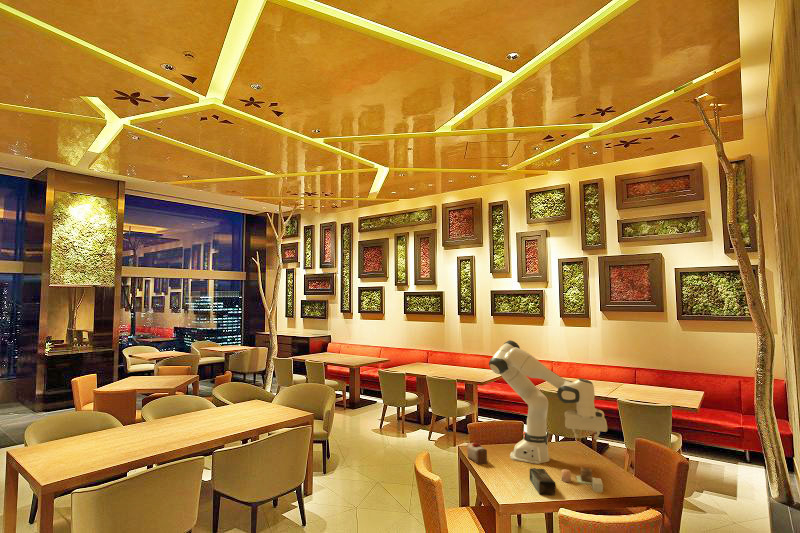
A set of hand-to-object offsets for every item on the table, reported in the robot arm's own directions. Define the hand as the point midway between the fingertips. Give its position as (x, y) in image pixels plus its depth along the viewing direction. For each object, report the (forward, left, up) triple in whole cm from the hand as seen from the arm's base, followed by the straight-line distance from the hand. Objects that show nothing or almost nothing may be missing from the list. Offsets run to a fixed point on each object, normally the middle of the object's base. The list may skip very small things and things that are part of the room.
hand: (586, 438), depth 233 cm
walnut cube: (0, 0, -20) cm, 20 cm away
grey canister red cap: (-57, +13, -21) cm, 63 cm away
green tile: (0, 0, -21) cm, 21 cm away
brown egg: (-10, -3, -21) cm, 24 cm away
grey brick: (+4, -9, -21) cm, 24 cm away
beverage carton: (-22, -15, -22) cm, 35 cm away
